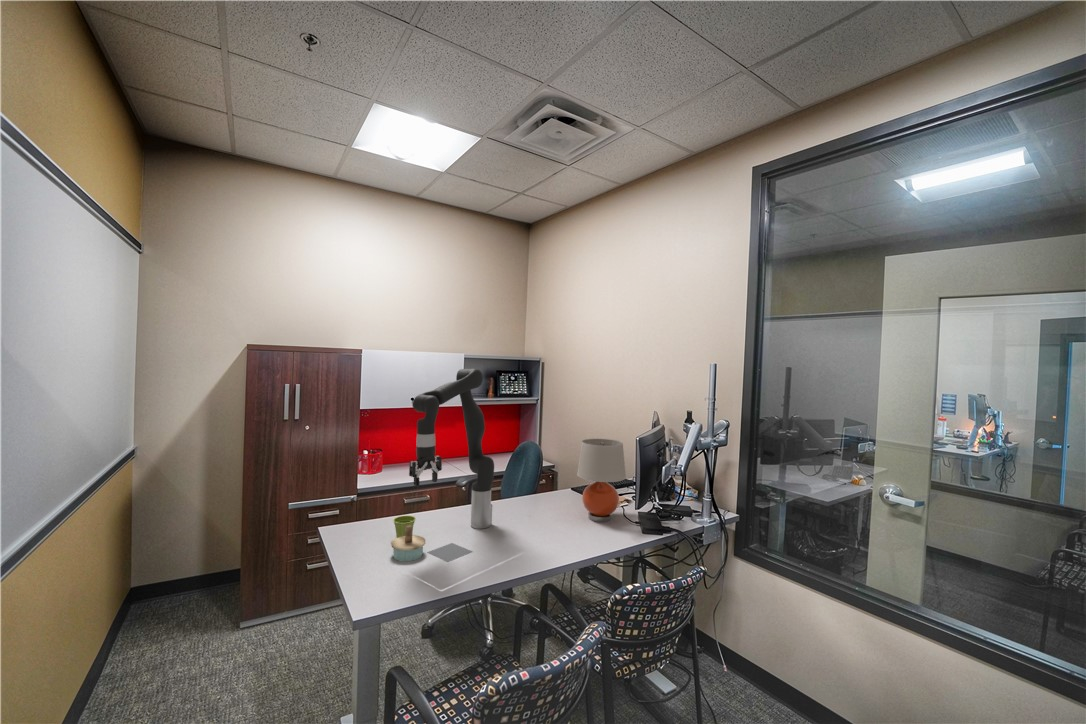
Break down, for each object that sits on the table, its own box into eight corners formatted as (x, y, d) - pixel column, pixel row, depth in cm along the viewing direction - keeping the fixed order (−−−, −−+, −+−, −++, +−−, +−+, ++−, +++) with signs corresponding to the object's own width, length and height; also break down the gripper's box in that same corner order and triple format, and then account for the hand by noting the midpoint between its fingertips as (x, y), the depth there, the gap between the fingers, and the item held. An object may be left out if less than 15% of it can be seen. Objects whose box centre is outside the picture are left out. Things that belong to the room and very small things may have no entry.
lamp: (565, 516, 234) (568, 440, 234) (597, 506, 251) (599, 436, 251) (602, 530, 216) (605, 448, 216) (634, 519, 233) (636, 443, 232)
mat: (452, 544, 195) (452, 542, 195) (472, 553, 187) (472, 551, 187) (426, 553, 185) (426, 552, 185) (447, 563, 177) (447, 561, 177)
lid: (412, 534, 191) (413, 518, 191) (432, 543, 183) (432, 526, 183) (384, 543, 181) (385, 526, 181) (403, 553, 173) (404, 535, 173)
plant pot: (392, 544, 193) (392, 523, 193) (393, 535, 202) (393, 516, 202) (415, 542, 196) (415, 522, 196) (415, 534, 205) (415, 514, 205)
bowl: (411, 548, 190) (411, 536, 190) (427, 555, 183) (428, 543, 183) (387, 556, 181) (388, 543, 181) (404, 565, 174) (404, 551, 174)
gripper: (434, 440, 194) (434, 478, 194) (405, 445, 182) (405, 486, 183) (445, 442, 189) (445, 482, 189) (416, 448, 178) (416, 490, 178)
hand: (425, 484), depth 186 cm, fingers open, 8 cm apart
